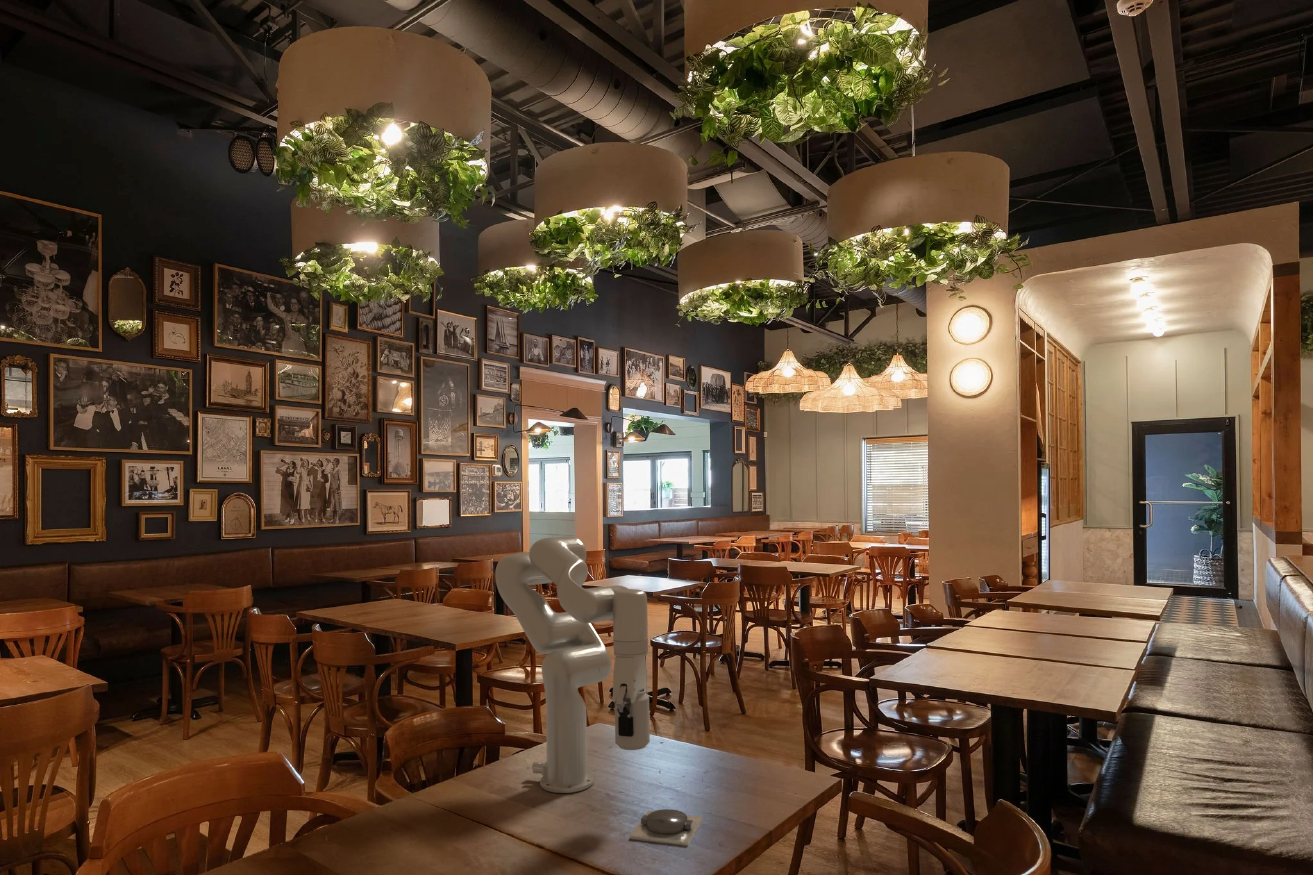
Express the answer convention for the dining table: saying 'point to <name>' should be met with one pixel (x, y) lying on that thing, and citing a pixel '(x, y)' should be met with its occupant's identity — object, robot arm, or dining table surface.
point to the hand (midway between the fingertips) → (632, 729)
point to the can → (636, 724)
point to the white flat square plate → (667, 827)
